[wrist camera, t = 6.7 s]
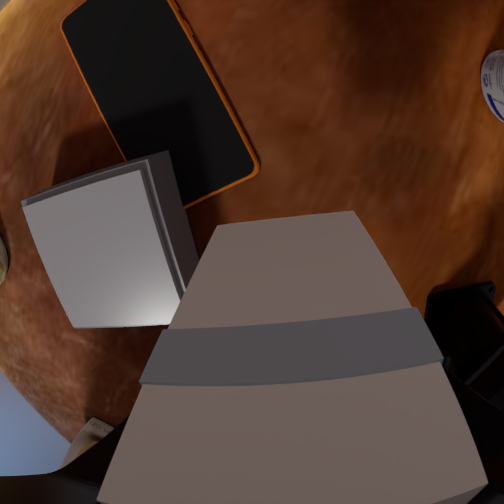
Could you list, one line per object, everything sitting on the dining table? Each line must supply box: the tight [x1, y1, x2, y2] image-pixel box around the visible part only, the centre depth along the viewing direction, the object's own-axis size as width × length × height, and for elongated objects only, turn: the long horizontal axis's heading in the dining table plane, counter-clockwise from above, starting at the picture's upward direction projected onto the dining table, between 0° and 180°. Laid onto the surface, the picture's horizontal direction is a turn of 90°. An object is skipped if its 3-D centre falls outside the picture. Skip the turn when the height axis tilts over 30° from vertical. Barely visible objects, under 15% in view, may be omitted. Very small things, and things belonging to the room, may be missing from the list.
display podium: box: [21, 150, 199, 328], centre depth 19 cm, size 10×10×4 cm
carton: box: [97, 211, 488, 504], centre depth 7 cm, size 4×6×8 cm
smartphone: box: [60, 0, 260, 209], centre depth 17 cm, size 8×17×1 cm, turn 26°
